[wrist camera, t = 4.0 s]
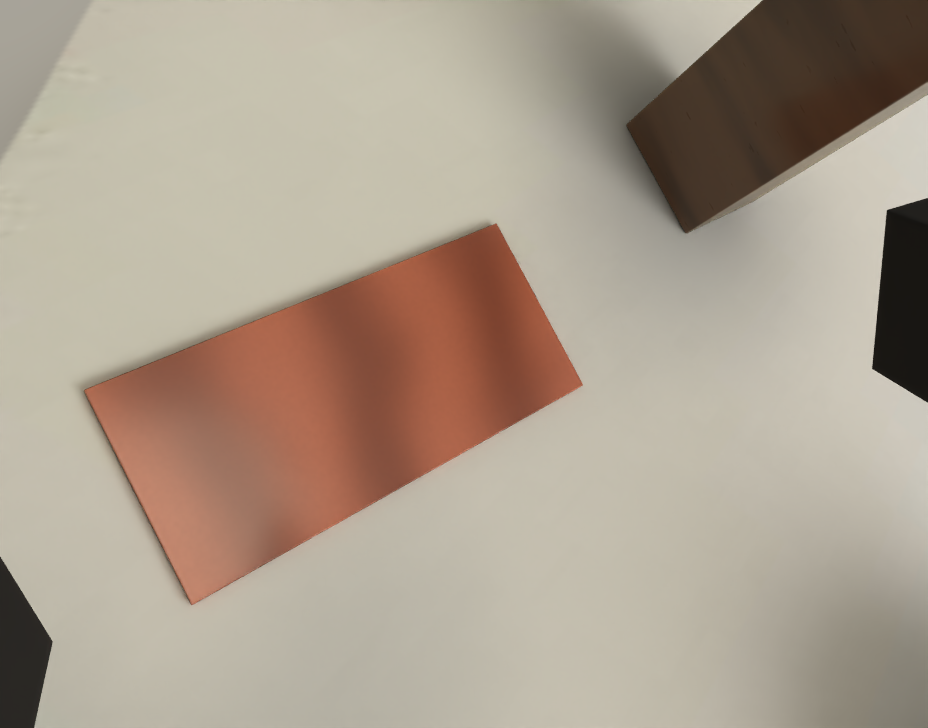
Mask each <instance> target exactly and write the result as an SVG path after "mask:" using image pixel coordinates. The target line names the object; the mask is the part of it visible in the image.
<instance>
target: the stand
mask: <svg viewBox="0 0 928 728" xmlns="http://www.w3.org/2000/svg"><path fill="white" fill-rule="evenodd" d="M927 95H928V0H762V1H761V2H760V3H759V4H758V5H757V6H756V7H755V8H754V9H753V10H751V11H750V12H749V13H748V14H747V15H746V16H745V17H744V18H743V19H742V20H741V21H739V22H738V23H737V24H736V25H735V26H734V27H733V28H732V29H731V30H730V31H728V32H727V33H726V34H725V35H724V36H723V37H722V38H721V39H720V40H719V41H717V42H716V43H715V44H714V45H713V46H712V47H711V48H710V49H709V50H708V51H706V52H705V53H704V54H703V55H702V56H701V57H700V58H699V59H698V60H697V61H696V62H694V63H693V64H692V65H691V66H690V67H689V68H688V69H687V70H686V71H685V72H683V73H682V74H681V75H680V76H679V77H678V78H677V79H676V80H675V81H674V82H672V83H671V84H670V85H669V86H668V87H667V88H666V89H665V90H664V91H663V92H661V93H660V94H659V95H658V96H657V97H656V98H655V99H654V100H653V101H652V102H651V103H649V104H648V105H647V106H646V107H645V108H644V109H643V110H642V111H641V112H640V113H638V114H637V115H636V116H635V117H634V118H633V119H632V120H631V121H630V122H629V123H627V127H628V129H629V131H630V133H631V135H632V137H633V138H634V140H635V142H636V144H637V146H638V147H639V149H640V151H641V153H642V155H643V157H644V158H645V160H646V162H647V164H648V166H649V167H650V169H651V171H652V173H653V175H654V177H655V178H656V180H657V182H658V184H659V186H660V188H661V189H662V191H663V193H664V195H665V197H666V198H667V200H668V202H669V204H670V206H671V208H672V209H673V211H674V213H675V215H676V217H677V218H678V220H679V222H680V224H681V226H682V228H683V229H684V231H685V233H689V232H691V231H693V230H695V229H697V228H699V227H701V226H703V225H705V224H707V223H710V222H712V221H714V220H716V219H718V218H720V217H722V216H724V215H726V214H728V213H730V212H732V211H735V210H737V209H739V208H741V207H743V206H745V205H747V204H749V203H751V202H753V201H755V200H756V199H758V198H760V197H761V196H763V195H765V194H766V193H768V192H770V191H771V190H773V189H774V188H776V187H778V186H779V185H781V184H783V183H784V182H786V181H788V180H789V179H791V178H792V177H794V176H796V175H797V174H799V173H801V172H802V171H804V170H806V169H807V168H809V167H810V166H812V165H814V164H815V163H817V162H819V161H820V160H822V159H824V158H825V157H827V156H828V155H830V154H832V153H833V152H835V151H837V150H838V149H840V148H841V147H843V146H845V145H846V144H848V143H850V142H851V141H853V140H855V139H856V138H858V137H859V136H861V135H863V134H864V133H866V132H868V131H869V130H871V129H873V128H874V127H876V126H877V125H879V124H881V123H882V122H884V121H886V120H887V119H889V118H891V117H892V116H894V115H895V114H897V113H899V112H900V111H902V110H904V109H905V108H907V107H909V106H910V105H912V104H913V103H915V102H917V101H918V100H920V99H922V98H923V97H925V96H927ZM581 386H583V384H582V382H581V380H580V378H579V376H578V375H577V373H576V371H575V369H574V367H573V365H572V363H571V362H570V360H569V358H568V356H567V354H566V352H565V350H564V349H563V347H562V345H561V343H560V341H559V339H558V337H557V335H556V334H555V332H554V330H553V328H552V326H551V324H550V322H549V321H548V319H547V317H546V315H545V313H544V311H543V309H542V308H541V306H540V304H539V302H538V300H537V298H536V296H535V294H534V293H533V291H532V289H531V287H530V285H529V283H528V281H527V280H526V278H525V276H524V274H523V272H522V270H521V268H520V267H519V265H518V263H517V261H516V259H515V257H514V255H513V253H512V252H511V250H510V248H509V246H508V244H507V242H506V240H505V239H504V237H503V235H502V233H501V231H500V229H499V227H498V226H497V224H494V225H491V226H489V227H486V228H484V229H481V230H479V231H476V232H474V233H471V234H469V235H466V236H464V237H461V238H459V239H456V240H454V241H451V242H449V243H446V244H444V245H442V246H439V247H437V248H434V249H432V250H429V251H427V252H424V253H422V254H419V255H417V256H414V257H412V258H409V259H407V260H404V261H402V262H399V263H397V264H395V265H392V266H390V267H387V268H385V269H382V270H380V271H377V272H375V273H372V274H370V275H367V276H365V277H362V278H360V279H357V280H355V281H352V282H350V283H347V284H345V285H343V286H340V287H338V288H335V289H333V290H330V291H328V292H325V293H323V294H320V295H318V296H315V297H313V298H310V299H308V300H305V301H303V302H300V303H298V304H296V305H293V306H291V307H288V308H286V309H283V310H281V311H278V312H276V313H273V314H271V315H268V316H266V317H263V318H261V319H258V320H256V321H253V322H251V323H248V324H246V325H244V326H241V327H239V328H236V329H234V330H231V331H229V332H226V333H224V334H221V335H219V336H216V337H214V338H211V339H209V340H206V341H204V342H201V343H199V344H197V345H194V346H192V347H189V348H187V349H184V350H182V351H179V352H177V353H174V354H172V355H169V356H167V357H164V358H162V359H159V360H157V361H154V362H152V363H149V364H147V365H145V366H142V367H140V368H137V369H135V370H132V371H130V372H127V373H125V374H122V375H120V376H117V377H115V378H112V379H110V380H107V381H105V382H102V383H100V384H98V385H95V386H93V387H90V388H88V389H85V390H84V392H85V394H86V396H87V398H88V400H89V402H90V404H91V406H92V408H93V410H94V412H95V414H96V416H97V418H98V420H99V422H100V424H101V426H102V428H103V430H104V432H105V434H106V436H107V438H108V440H109V442H110V444H111V446H112V448H113V450H114V452H115V454H116V456H117V458H118V460H119V462H120V464H121V466H122V468H123V470H124V472H125V474H126V476H127V478H128V480H129V482H130V484H131V486H132V488H133V490H134V492H135V494H136V496H137V498H138V500H139V502H140V504H141V506H142V508H143V510H144V512H145V514H146V516H147V518H148V520H149V522H150V524H151V526H152V528H153V530H154V532H155V534H156V536H157V538H158V540H159V542H160V544H161V546H162V548H163V549H164V551H165V553H166V555H167V557H168V559H169V561H170V563H171V565H172V567H173V569H174V571H175V573H176V575H177V577H178V579H179V581H180V583H181V585H182V587H183V589H184V591H185V593H186V595H187V597H188V599H189V601H190V603H191V605H193V604H195V603H197V602H198V601H200V600H202V599H204V598H205V597H207V596H209V595H211V594H213V593H214V592H216V591H218V590H220V589H221V588H223V587H225V586H227V585H229V584H230V583H232V582H234V581H236V580H237V579H239V578H241V577H243V576H245V575H246V574H248V573H250V572H252V571H253V570H255V569H257V568H259V567H261V566H262V565H264V564H266V563H268V562H269V561H271V560H273V559H275V558H277V557H278V556H280V555H282V554H284V553H285V552H287V551H289V550H291V549H293V548H294V547H296V546H298V545H300V544H301V543H303V542H305V541H307V540H309V539H310V538H312V537H314V536H316V535H317V534H319V533H321V532H323V531H325V530H326V529H328V528H330V527H332V526H333V525H335V524H337V523H339V522H341V521H342V520H344V519H346V518H348V517H349V516H351V515H353V514H355V513H357V512H358V511H360V510H362V509H364V508H366V507H367V506H369V505H371V504H373V503H374V502H376V501H378V500H380V499H382V498H383V497H385V496H387V495H389V494H390V493H392V492H394V491H396V490H398V489H399V488H401V487H403V486H405V485H406V484H408V483H410V482H412V481H414V480H415V479H417V478H419V477H421V476H422V475H424V474H426V473H428V472H430V471H431V470H433V469H435V468H437V467H438V466H440V465H442V464H444V463H446V462H447V461H449V460H451V459H453V458H454V457H456V456H458V455H460V454H462V453H463V452H465V451H467V450H469V449H470V448H472V447H474V446H476V445H478V444H479V443H481V442H483V441H485V440H486V439H488V438H490V437H492V436H494V435H495V434H497V433H499V432H501V431H502V430H504V429H506V428H508V427H510V426H511V425H513V424H515V423H517V422H518V421H520V420H522V419H524V418H526V417H527V416H529V415H531V414H533V413H535V412H536V411H538V410H540V409H542V408H543V407H545V406H547V405H549V404H551V403H552V402H554V401H556V400H558V399H559V398H561V397H563V396H565V395H567V394H568V393H570V392H572V391H574V390H575V389H577V388H579V387H581Z"/></svg>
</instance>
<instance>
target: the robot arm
mask: <svg viewBox="0 0 928 728" xmlns="http://www.w3.org/2000/svg"><path fill="white" fill-rule="evenodd" d="M872 369H873V370H875V371H877V372H878V373H880V374H882V375H883V376H885V377H887V378H888V379H890V380H891V381H893V382H895V383H896V384H898V385H900V386H901V387H903V388H905V389H906V390H908V391H909V392H911V393H913V394H914V395H916V396H918V397H919V398H921V399H923V400H924V401H926V402H928V198H926V199H923V200H920V201H916V202H913V203H909V204H906V205H903V206H899V207H896V208H893V209H889V210H887V215H886V226H885V237H884V248H883V258H882V269H881V280H880V291H879V301H878V312H877V323H876V334H875V344H874V355H873V366H872ZM52 642H53V641H52V640H51V638H50V637H49V635H48V633H47V632H46V630H45V628H44V627H43V625H42V624H41V622H40V620H39V619H38V617H37V615H36V614H35V612H34V611H33V609H32V607H31V606H30V604H29V603H28V601H27V599H26V598H25V596H24V594H23V593H22V591H21V590H20V588H19V586H18V585H17V583H16V581H15V580H14V578H13V577H12V575H11V573H10V572H9V570H8V569H7V567H6V565H5V564H4V562H3V560H2V559H1V557H0V728H34V725H35V721H36V716H37V711H38V707H39V702H40V697H41V693H42V688H43V684H44V679H45V674H46V670H47V665H48V660H49V656H50V651H51V647H52Z"/></svg>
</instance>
